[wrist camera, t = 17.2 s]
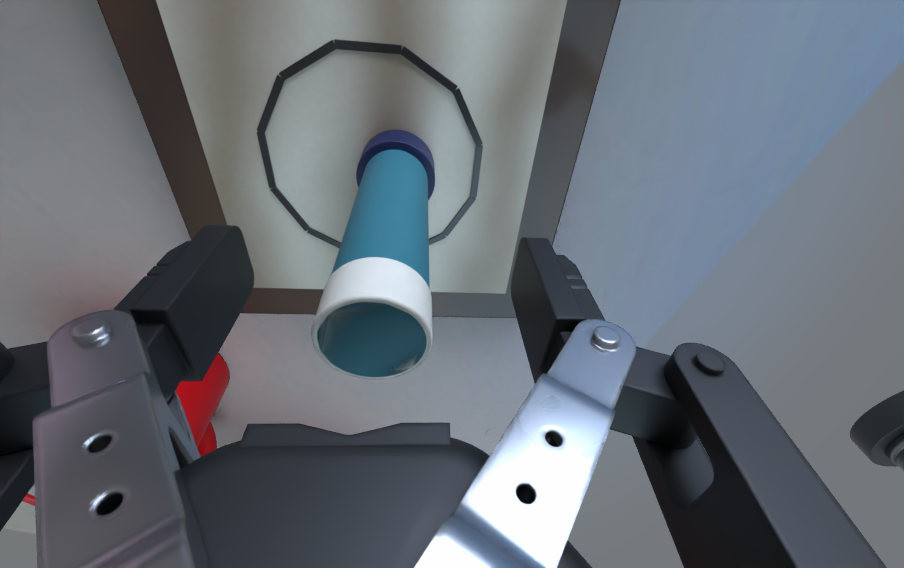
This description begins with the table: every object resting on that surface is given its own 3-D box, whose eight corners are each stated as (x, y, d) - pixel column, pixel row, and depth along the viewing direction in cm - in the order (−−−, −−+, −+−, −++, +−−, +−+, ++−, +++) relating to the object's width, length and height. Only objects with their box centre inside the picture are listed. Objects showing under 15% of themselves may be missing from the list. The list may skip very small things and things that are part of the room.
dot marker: (436, 131, 16) (448, 288, 8) (432, 202, 18) (439, 387, 10) (358, 126, 16) (286, 285, 8) (363, 198, 18) (310, 387, 9)
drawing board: (632, -90, 13) (651, -96, 12) (528, 305, 24) (533, 321, 23) (60, -159, 12) (22, -174, 10) (227, 299, 23) (217, 315, 21)
